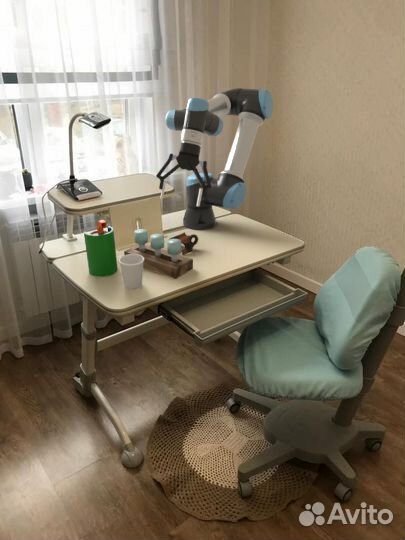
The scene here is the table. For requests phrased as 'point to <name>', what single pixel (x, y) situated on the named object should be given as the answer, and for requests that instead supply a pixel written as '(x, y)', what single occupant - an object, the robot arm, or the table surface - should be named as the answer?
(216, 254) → the table surface
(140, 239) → the knob
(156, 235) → the knob
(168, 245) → the knob
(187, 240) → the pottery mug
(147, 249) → the mount
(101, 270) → the green pen holder
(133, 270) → the dixie cup
